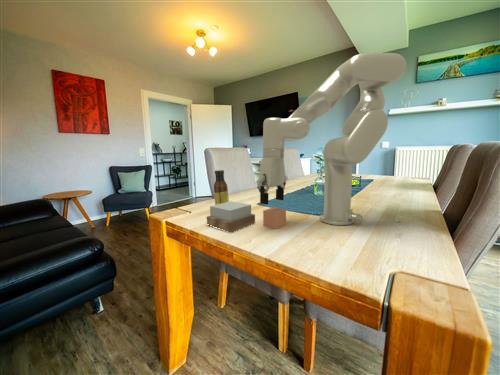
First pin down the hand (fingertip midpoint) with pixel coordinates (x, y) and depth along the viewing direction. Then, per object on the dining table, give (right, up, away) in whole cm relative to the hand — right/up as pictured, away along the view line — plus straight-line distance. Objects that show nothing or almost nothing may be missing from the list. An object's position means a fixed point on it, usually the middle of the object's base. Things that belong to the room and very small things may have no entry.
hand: (272, 201), depth 80 cm
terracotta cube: (+1, -9, +2) cm, 9 cm away
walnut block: (-15, -10, +4) cm, 18 cm away
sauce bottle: (-21, -7, +19) cm, 29 cm away
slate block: (-15, -6, +3) cm, 17 cm away
